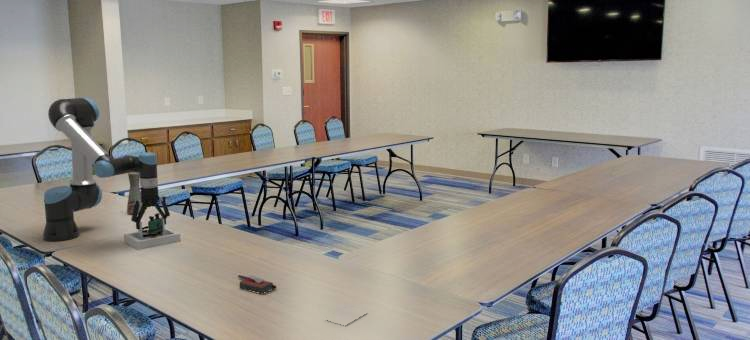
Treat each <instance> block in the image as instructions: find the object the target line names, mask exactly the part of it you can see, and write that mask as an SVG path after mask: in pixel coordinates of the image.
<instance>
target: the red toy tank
mask: <svg viewBox="0 0 750 340" xmlns="http://www.w3.org/2000/svg"><path fill="white" fill-rule="evenodd" d="M237 278H240V279H242V280H240V281H239V289H240V288H242V289H241V290H243V289H246V290H245V291H247V290H251V291H255V292H259V293H264V292H267V291H269V290H271V289H273V290H275V289H277V286H276V285H274V283H273V282H270V281H266V280H264V278H261V277H257V276H254V275H248V276H244V275H241V274H238V276H237ZM251 291H250V292H251ZM271 291H272V290H271ZM255 292H254V293H255ZM269 292H270V291H269ZM259 293H258V294H259ZM267 293H268V292H267Z"/></svg>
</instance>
